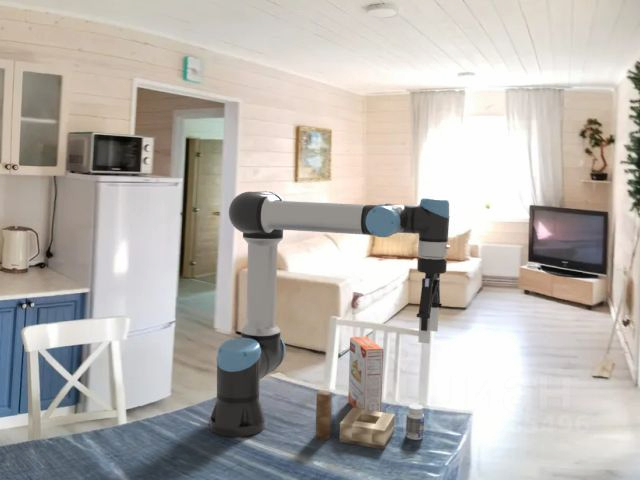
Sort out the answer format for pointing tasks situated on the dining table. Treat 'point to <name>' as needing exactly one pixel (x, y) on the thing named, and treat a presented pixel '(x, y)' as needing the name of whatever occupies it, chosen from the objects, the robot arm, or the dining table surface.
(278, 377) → the dining table surface
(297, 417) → the dining table surface
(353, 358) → the cracker box
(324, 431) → the pin
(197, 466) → the dining table surface
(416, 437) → the pill bottle
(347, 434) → the bore block
